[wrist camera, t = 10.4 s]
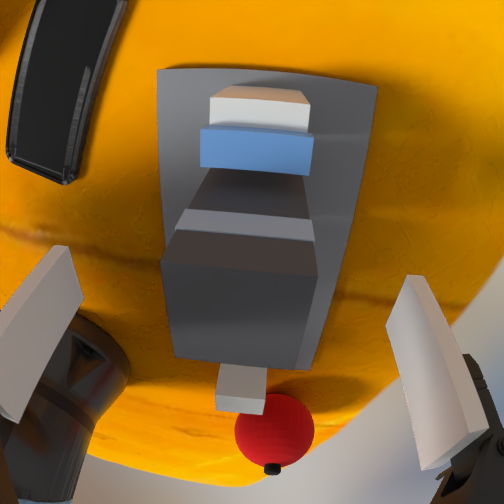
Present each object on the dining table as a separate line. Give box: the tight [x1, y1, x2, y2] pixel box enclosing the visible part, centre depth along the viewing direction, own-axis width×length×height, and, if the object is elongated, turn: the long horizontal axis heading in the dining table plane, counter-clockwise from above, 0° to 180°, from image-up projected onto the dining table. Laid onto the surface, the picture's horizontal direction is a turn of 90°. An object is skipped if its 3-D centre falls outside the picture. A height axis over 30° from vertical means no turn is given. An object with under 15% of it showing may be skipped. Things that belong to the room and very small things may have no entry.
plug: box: [160, 168, 318, 370], centre depth 15 cm, size 5×5×12 cm
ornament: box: [235, 394, 314, 475], centre depth 32 cm, size 9×9×10 cm
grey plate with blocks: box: [157, 68, 378, 415], centre depth 21 cm, size 13×26×8 cm, turn 177°
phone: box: [6, 0, 128, 185], centre depth 17 cm, size 8×1×15 cm
